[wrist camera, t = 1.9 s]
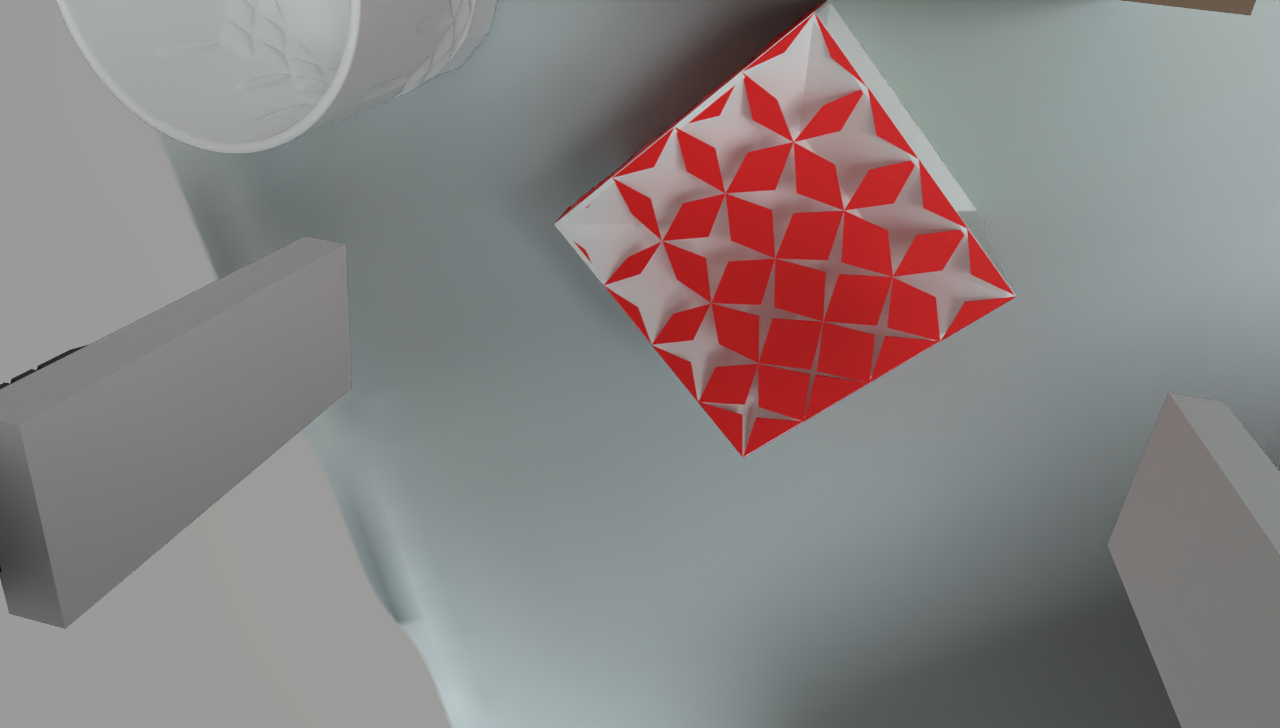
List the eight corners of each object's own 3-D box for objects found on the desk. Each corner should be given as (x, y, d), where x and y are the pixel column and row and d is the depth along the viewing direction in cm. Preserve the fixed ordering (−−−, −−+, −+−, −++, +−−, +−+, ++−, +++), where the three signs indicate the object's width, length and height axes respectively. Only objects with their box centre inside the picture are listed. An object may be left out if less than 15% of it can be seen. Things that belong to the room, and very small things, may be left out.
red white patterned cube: (979, 212, 28) (1016, 297, 21) (772, 346, 31) (743, 458, 24) (827, -4, 26) (811, 7, 19) (627, 160, 30) (551, 221, 23)
